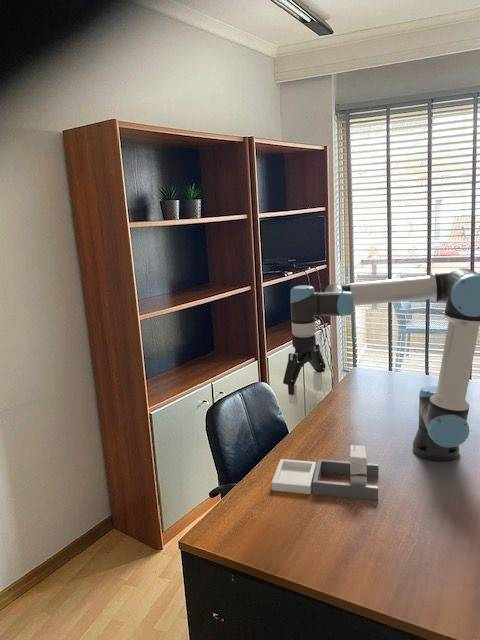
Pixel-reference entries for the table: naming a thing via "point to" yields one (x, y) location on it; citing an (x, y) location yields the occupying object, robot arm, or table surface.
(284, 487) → the tray
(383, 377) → the table surface
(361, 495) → the bay
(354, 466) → the ink box
